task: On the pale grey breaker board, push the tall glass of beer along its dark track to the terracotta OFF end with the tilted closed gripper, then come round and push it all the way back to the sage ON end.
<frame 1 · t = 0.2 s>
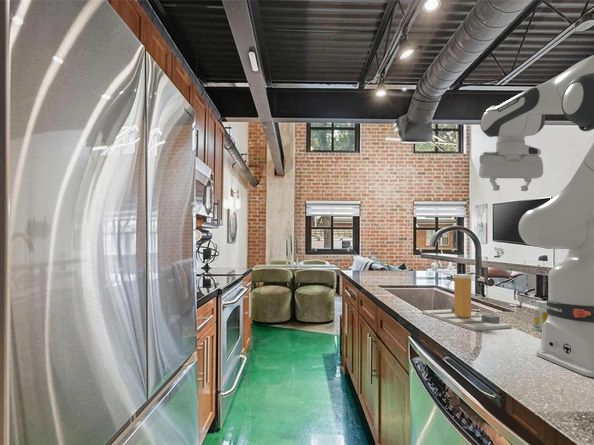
hand: (510, 190, 125), 48 cm above the counter, tool pointing down, fingers open, 8 cm apart
glass of beer: (462, 295, 134), point 9 cm above the counter, slide at 0.0 cm
supplement bottle: (543, 330, 120), on the counter
breaker panel: (462, 319, 134), on the counter
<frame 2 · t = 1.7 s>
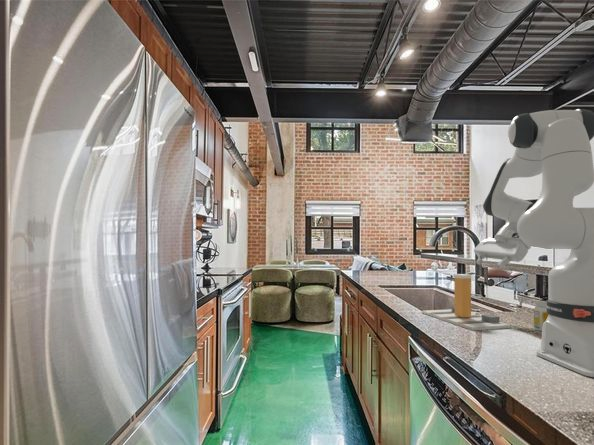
hand: (488, 265, 138), 20 cm above the counter, tool tilted 45°, fingers open, 8 cm apart
nothing on the counter moved.
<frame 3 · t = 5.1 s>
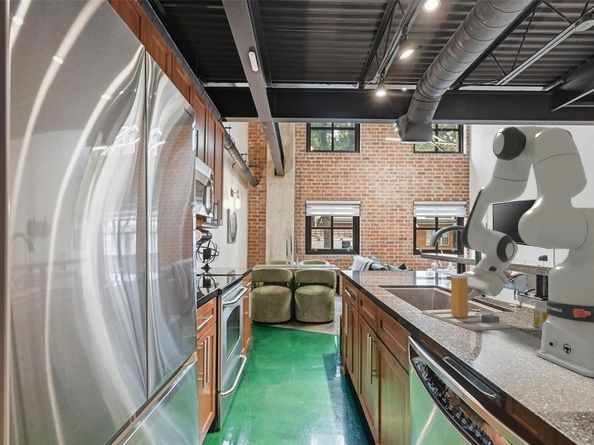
hand: (465, 299, 134), 8 cm above the counter, tool tilted 45°, fingers closed, pressing on glass of beer
glass of beer: (459, 295, 134), point 9 cm above the counter, slide at 1.5 cm, touching gripper
everything else where it was.
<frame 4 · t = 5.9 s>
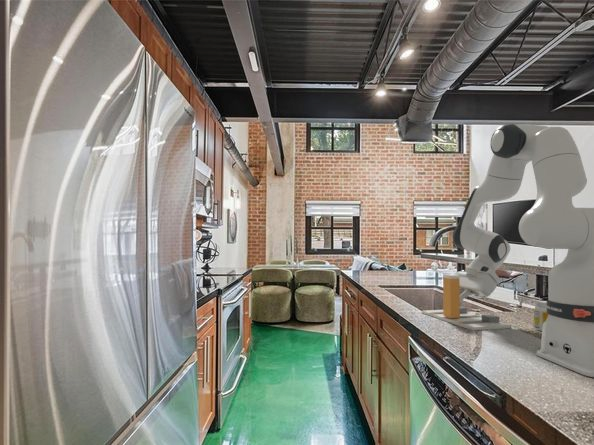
hand: (457, 299, 133), 8 cm above the counter, tool tilted 45°, fingers closed, pressing on glass of beer
glass of beer: (451, 295, 133), point 9 cm above the counter, slide at 5.1 cm, touching gripper
everything else where it was.
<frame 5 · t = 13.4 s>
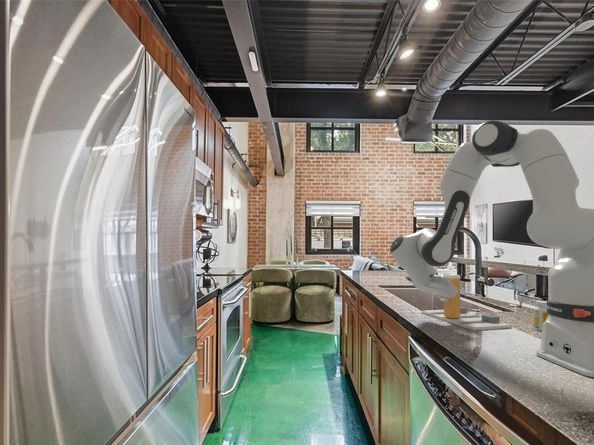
hand: (446, 299, 132), 8 cm above the counter, tool tilted 45°, fingers closed, pressing on glass of beer
glass of beer: (451, 295, 133), point 9 cm above the counter, slide at 4.8 cm, touching gripper
everything else where it was.
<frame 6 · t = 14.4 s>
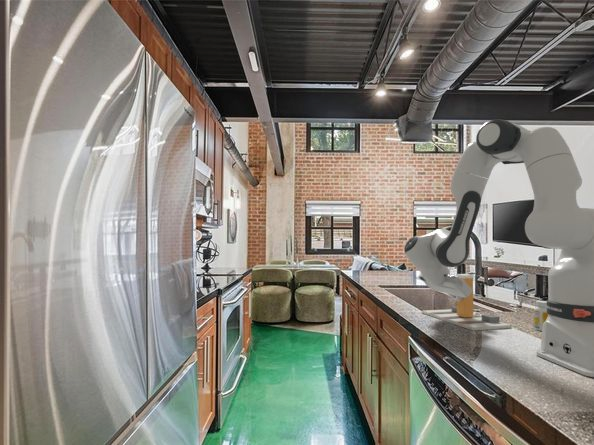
hand: (459, 299, 134), 8 cm above the counter, tool tilted 45°, fingers closed, pressing on glass of beer
glass of beer: (464, 295, 134), point 9 cm above the counter, slide at -1.0 cm, touching gripper
everything else where it was.
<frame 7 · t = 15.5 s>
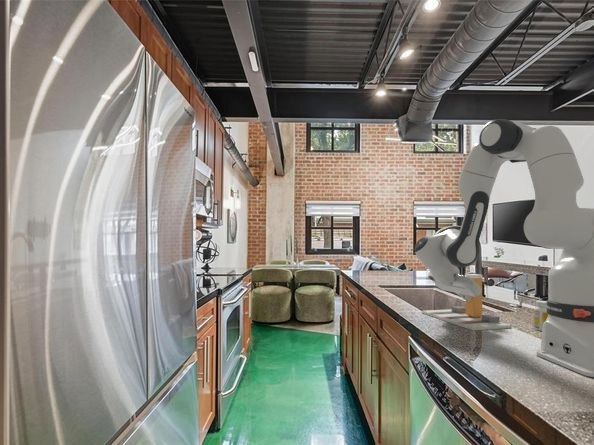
hand: (468, 298, 135), 8 cm above the counter, tool tilted 45°, fingers closed, pressing on glass of beer
glass of beer: (473, 294, 135), point 9 cm above the counter, slide at -5.1 cm, touching gripper
everything else where it was.
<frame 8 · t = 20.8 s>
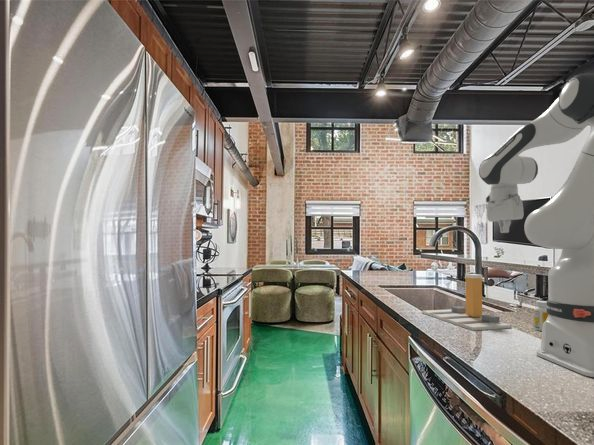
hand: (504, 232, 133), 33 cm above the counter, tool pointing down, fingers closed
glass of beer: (473, 294, 135), point 9 cm above the counter, slide at -5.0 cm
everything else where it was.
at the end: glass of beer slide at -5.0 cm; glass of beer touching nothing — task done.
